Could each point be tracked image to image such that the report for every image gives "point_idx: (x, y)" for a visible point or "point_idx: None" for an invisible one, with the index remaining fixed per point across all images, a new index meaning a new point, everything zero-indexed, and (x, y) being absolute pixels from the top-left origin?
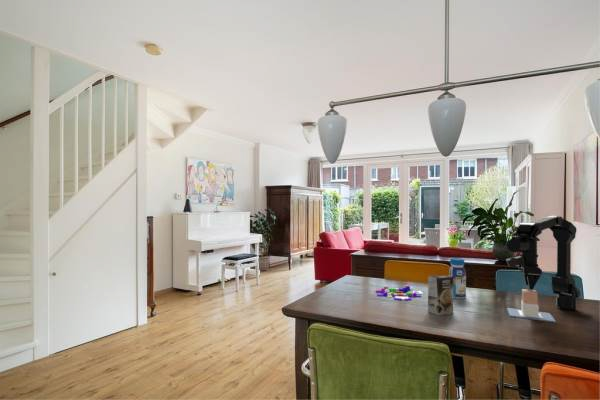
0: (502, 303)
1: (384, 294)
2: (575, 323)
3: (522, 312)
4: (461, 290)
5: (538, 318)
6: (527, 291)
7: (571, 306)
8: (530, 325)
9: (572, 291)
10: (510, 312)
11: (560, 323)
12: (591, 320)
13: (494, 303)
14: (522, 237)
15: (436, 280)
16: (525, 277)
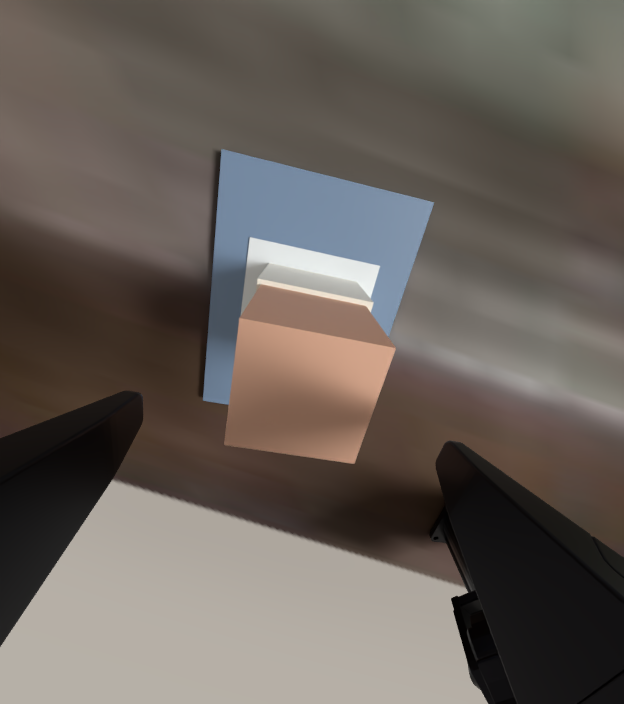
0: (580, 222)
1: None
2: (232, 468)
3: (298, 270)
4: None
5: (223, 332)
6: (262, 368)
7: (449, 541)
8: (64, 232)
9: (465, 643)
10: (307, 185)
11: (201, 411)
12: (305, 532)
13: (586, 147)
14: None
15: None
16: (535, 542)
